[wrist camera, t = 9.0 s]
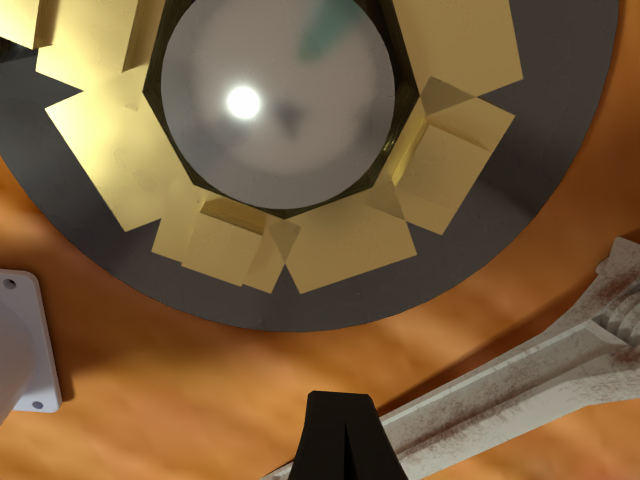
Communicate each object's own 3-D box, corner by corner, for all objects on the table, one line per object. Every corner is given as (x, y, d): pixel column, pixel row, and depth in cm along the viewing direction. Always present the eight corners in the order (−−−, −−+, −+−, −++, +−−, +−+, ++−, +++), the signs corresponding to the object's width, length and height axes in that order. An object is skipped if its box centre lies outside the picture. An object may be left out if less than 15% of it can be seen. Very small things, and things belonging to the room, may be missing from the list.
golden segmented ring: (372, 287, 20) (386, 354, 16) (-56, 129, 17) (-162, 167, 13) (559, -37, 15) (643, -48, 11) (-20, -361, 11) (-184, -536, 8)
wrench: (244, 448, 30) (773, 141, 17) (265, 462, 31) (791, 174, 18) (209, 597, 23) (1036, 268, 11) (237, 611, 24) (1050, 315, 11)
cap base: (24, 305, 21) (-54, 388, 17) (-149, -469, 11) (-460, -779, 7) (504, 342, 22) (551, 429, 18) (743, -325, 12) (986, -506, 8)
